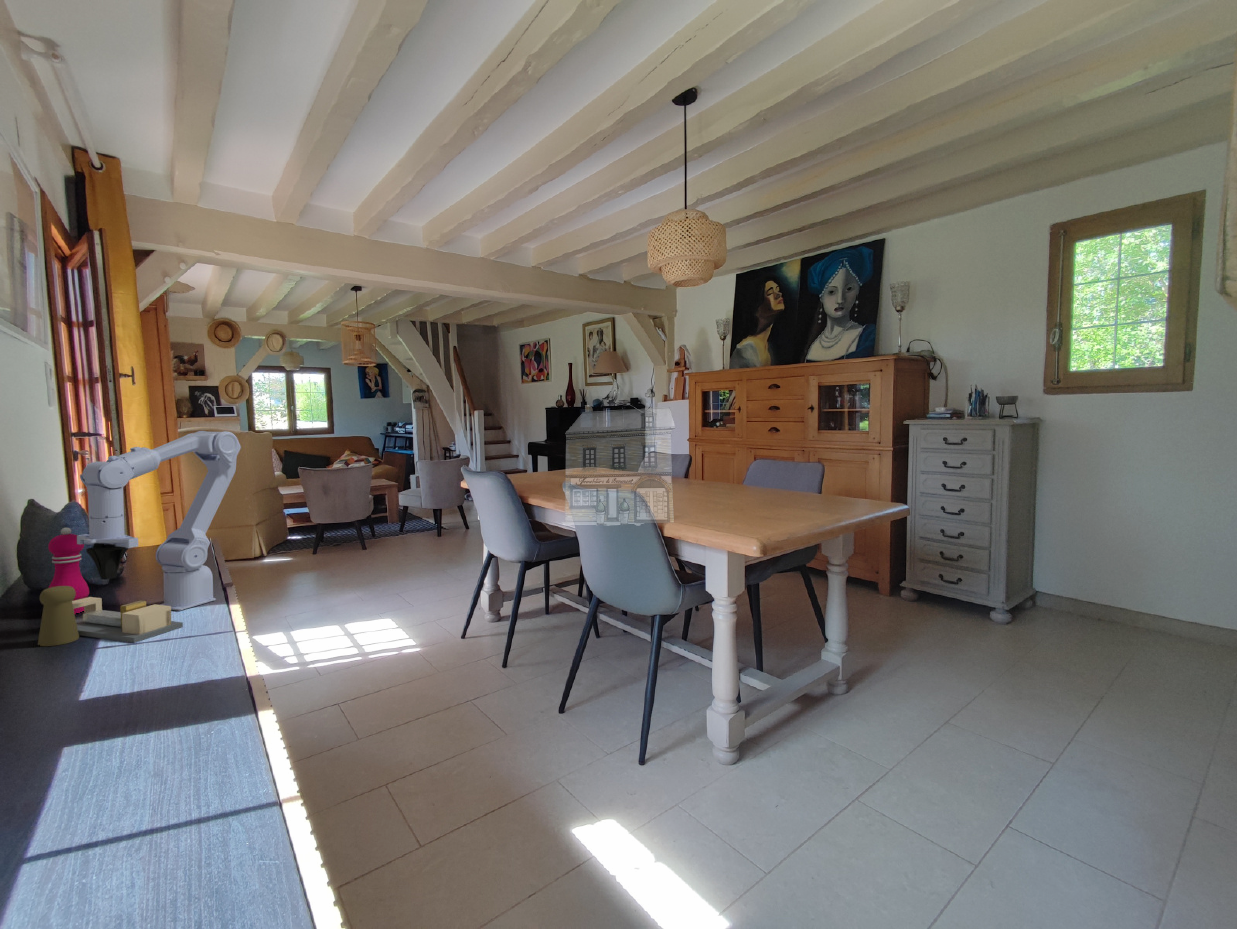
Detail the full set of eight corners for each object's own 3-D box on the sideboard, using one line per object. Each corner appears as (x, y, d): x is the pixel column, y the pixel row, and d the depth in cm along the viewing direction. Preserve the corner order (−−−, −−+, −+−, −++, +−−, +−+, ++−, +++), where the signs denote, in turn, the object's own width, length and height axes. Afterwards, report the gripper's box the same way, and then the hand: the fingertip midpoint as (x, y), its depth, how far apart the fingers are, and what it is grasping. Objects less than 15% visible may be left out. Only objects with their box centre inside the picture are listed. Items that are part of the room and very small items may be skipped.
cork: (38, 648, 112) (37, 592, 111) (36, 641, 116) (35, 587, 115) (81, 640, 116) (80, 587, 116) (77, 633, 120) (76, 581, 120)
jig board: (97, 616, 131) (96, 594, 131) (182, 626, 125) (182, 604, 125) (44, 630, 122) (43, 607, 121) (134, 642, 116) (133, 618, 115)
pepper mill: (63, 618, 129) (60, 530, 128) (38, 616, 131) (35, 529, 130) (97, 609, 136) (95, 526, 135) (74, 607, 138) (71, 524, 137)
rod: (101, 617, 127) (100, 596, 127) (160, 624, 123) (160, 602, 123) (80, 622, 123) (79, 601, 123) (141, 630, 119) (140, 608, 119)
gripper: (59, 517, 122) (62, 580, 123) (112, 520, 119) (114, 585, 120) (96, 513, 129) (98, 572, 130) (147, 516, 126) (149, 577, 127)
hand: (108, 578), depth 125 cm, fingers closed
